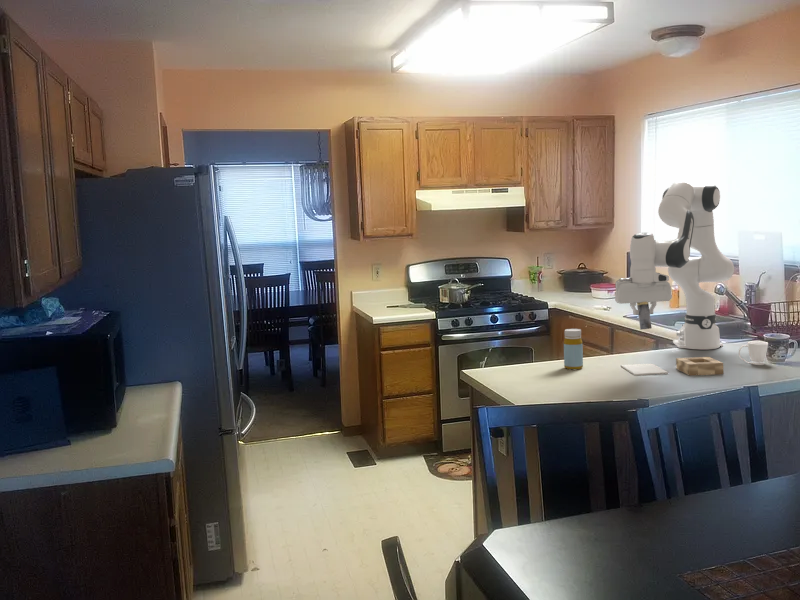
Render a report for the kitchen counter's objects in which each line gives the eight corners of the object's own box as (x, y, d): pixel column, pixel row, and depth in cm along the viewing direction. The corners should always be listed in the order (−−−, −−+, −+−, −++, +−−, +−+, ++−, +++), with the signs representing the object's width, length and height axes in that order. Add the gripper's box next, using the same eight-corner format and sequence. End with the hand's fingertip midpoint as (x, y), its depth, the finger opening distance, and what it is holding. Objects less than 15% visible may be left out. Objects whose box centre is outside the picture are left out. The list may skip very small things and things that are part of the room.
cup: (770, 365, 248) (770, 344, 248) (740, 365, 251) (740, 344, 250) (765, 361, 255) (766, 340, 254) (736, 361, 258) (736, 340, 257)
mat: (621, 366, 259) (621, 365, 259) (652, 365, 259) (652, 363, 259) (634, 375, 243) (634, 373, 243) (668, 374, 243) (668, 372, 243)
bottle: (581, 366, 264) (580, 328, 262) (584, 369, 257) (583, 331, 255) (563, 366, 264) (562, 328, 263) (565, 370, 258) (564, 331, 256)
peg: (640, 329, 251) (637, 302, 251) (651, 328, 249) (648, 301, 250) (639, 329, 247) (636, 302, 248) (651, 328, 245) (647, 301, 246)
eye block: (676, 368, 251) (676, 358, 250) (708, 367, 251) (708, 356, 250) (689, 375, 239) (689, 364, 238) (723, 374, 239) (723, 363, 238)
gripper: (618, 279, 244) (619, 317, 245) (673, 276, 245) (673, 313, 246) (612, 278, 250) (612, 314, 251) (665, 275, 251) (665, 311, 253)
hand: (643, 314), depth 249 cm, fingers closed on peg, 4 cm apart
